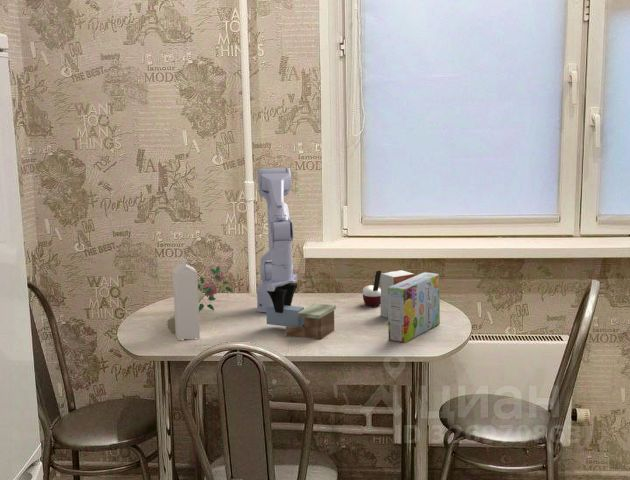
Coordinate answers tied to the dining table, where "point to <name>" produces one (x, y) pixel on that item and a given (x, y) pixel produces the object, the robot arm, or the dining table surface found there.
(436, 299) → the snack box
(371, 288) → the cocoa
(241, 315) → the dining table surface
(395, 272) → the small box
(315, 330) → the awning socket
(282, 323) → the peg
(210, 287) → the flower vase
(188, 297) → the milk
